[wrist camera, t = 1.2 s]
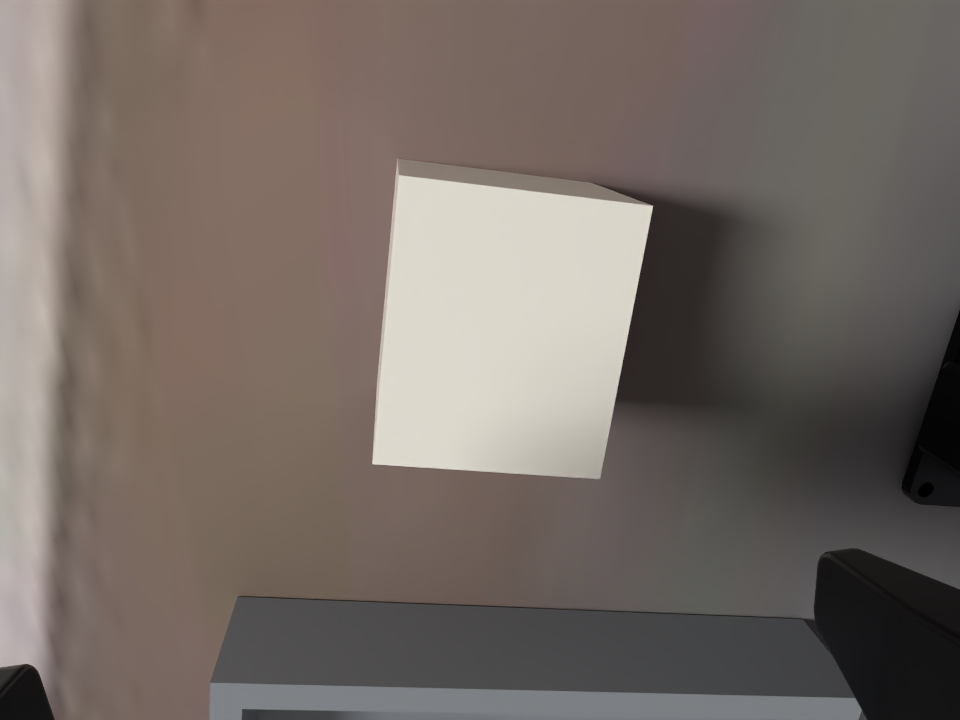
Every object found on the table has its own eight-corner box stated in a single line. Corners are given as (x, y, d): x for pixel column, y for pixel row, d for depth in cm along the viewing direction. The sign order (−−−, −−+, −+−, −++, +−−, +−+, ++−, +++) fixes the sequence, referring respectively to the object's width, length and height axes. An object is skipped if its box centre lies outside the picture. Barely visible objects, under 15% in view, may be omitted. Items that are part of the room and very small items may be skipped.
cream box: (590, 182, 19) (653, 205, 15) (554, 396, 21) (599, 478, 17) (397, 158, 19) (398, 175, 14) (376, 382, 21) (372, 463, 16)
